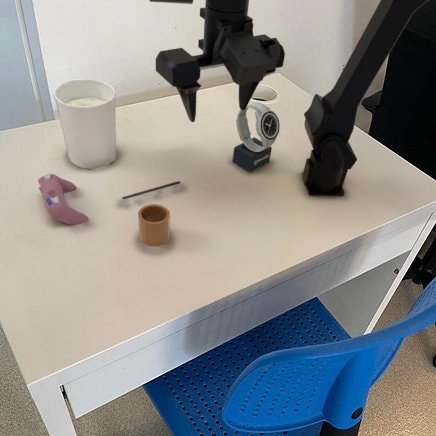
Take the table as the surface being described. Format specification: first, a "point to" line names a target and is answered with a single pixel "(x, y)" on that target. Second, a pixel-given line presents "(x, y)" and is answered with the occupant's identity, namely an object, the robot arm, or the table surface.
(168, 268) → the table surface
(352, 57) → the robot arm
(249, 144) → the watch
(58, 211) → the video game controller
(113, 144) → the candle holder
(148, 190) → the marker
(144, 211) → the brown wooden cup
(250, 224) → the table surface
